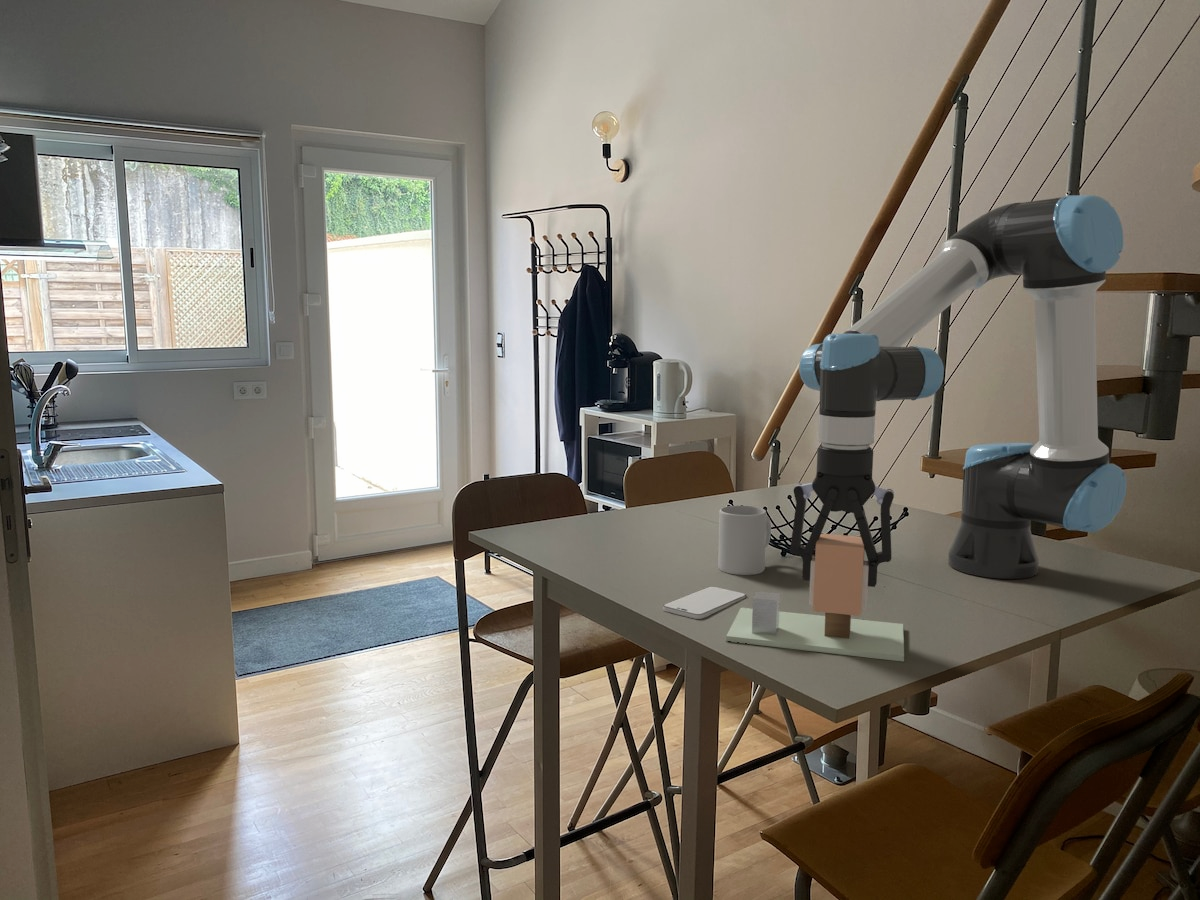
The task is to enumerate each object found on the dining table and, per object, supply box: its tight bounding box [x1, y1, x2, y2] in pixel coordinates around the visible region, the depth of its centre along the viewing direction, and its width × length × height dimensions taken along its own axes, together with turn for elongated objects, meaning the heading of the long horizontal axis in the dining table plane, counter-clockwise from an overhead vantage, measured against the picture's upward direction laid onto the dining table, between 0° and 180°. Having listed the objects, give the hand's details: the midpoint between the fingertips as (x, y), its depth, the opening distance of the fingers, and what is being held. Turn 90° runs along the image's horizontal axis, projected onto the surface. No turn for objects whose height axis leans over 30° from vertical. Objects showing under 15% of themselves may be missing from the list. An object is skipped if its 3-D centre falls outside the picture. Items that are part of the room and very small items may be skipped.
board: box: [725, 607, 905, 662], centre depth 128 cm, size 24×13×1 cm, turn 72°
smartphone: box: [662, 586, 747, 620], centre depth 143 cm, size 7×1×15 cm
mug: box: [717, 505, 772, 576], centre depth 162 cm, size 12×8×11 cm
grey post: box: [752, 591, 781, 636], centre depth 128 cm, size 3×3×6 cm
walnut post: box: [824, 612, 852, 639], centre depth 126 cm, size 3×3×10 cm
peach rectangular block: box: [812, 533, 866, 617], centre depth 125 cm, size 6×6×10 cm
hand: (837, 604), depth 126 cm, fingers closed on peach rectangular block, 6 cm apart
